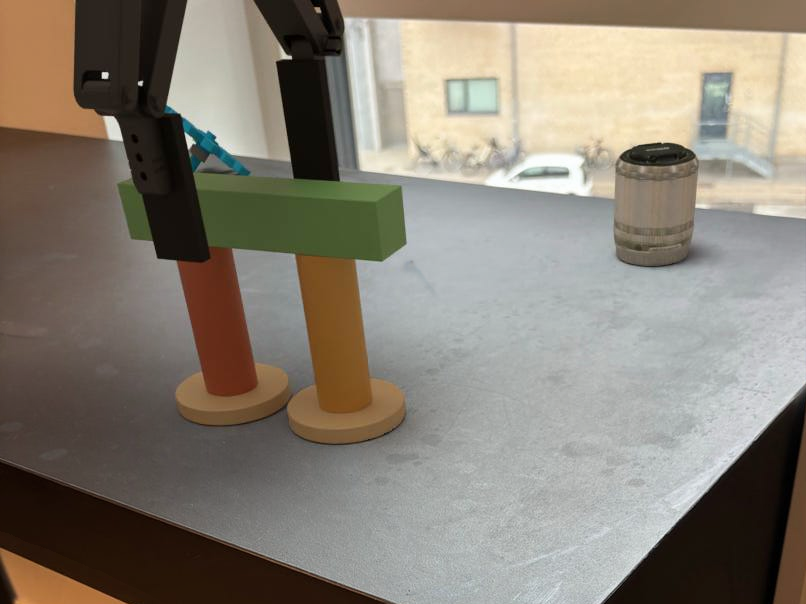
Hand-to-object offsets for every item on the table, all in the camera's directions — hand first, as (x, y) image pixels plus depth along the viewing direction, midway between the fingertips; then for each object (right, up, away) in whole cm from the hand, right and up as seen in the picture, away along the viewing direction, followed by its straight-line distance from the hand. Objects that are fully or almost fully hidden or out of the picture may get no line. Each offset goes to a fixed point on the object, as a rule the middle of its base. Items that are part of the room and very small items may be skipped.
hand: (256, 219), depth 55 cm
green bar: (0, -1, +1) cm, 1 cm away
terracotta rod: (-3, -8, +8) cm, 12 cm away
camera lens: (+26, +8, +26) cm, 38 cm away
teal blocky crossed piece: (-16, +25, +51) cm, 59 cm away
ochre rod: (+4, -9, +6) cm, 12 cm away
